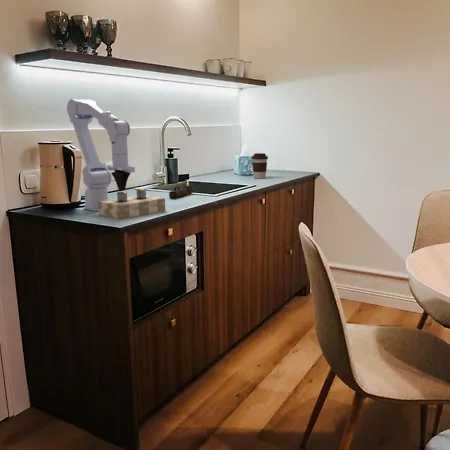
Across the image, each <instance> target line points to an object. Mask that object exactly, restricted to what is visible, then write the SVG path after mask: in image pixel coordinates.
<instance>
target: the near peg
mask: <svg viewBox="0 0 450 450" xmlns="http://www.w3.org/2000/svg"><path fill="white" fill-rule="evenodd" d="M116 194H117V198H116V199H117V200H118V202H121V203H122V202H127V197H128V192H127V191H126V190H125V191H116Z"/></svg>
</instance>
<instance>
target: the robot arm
mask: <svg viewBox="0 0 450 450" xmlns="http://www.w3.org/2000/svg"><path fill="white" fill-rule="evenodd" d="M66 112H67V114H68V118H69V120H70V123H71V124H73V125H72V126H73V128H74V132H75V133H76V134H75V135H76V137H77V138H76V139H77V141H78V143H79V147H80V150H81V152H82V156H83V158H84V161H85V166H84V168H83V169H82V170H81V172H82V180H83V183H84V185H85V186H86V189H85V191H84V203H85V206H84V207H83V209H84V210H90V211H92V212H99V205H98V201H103V200H109V194H108V193H109V191H108V188H109V187H110V185H111V182H112V179H114V181H115V183H116V187H117V190H118V192H120V191H126V188H127V184H128V183H127V182H128V179H129V177H130V175H131V173H136V170H135V166H131V165H129V153H128V152H129V151H128V150H129V149H128V136H129V135H130V132H131V126H130V124H129V122H128V121H127V120H120V119H119V117H116V116H115V115H114V114H112V112H111V111H110V110H109V111H107V110H106V111H104V110H102V109H101V108H100V107H99V106H98V105H97V102H96V101H94V100H93V99H74V98H70V99H69V100H68V101H67V105H66ZM94 118H95V119H96V120H97V121H98V124H99V125H100V126H101V127H102V128H104V129H105V130H106V132H107V135H108V137H109V138H108V139H109V141H110V143H111V161H112V164H107V165H106V164H105V163H102V162H101V161H100V159H99V155H98V152H97V150H96V146H95V144H94V141H93V138H92V135H91V132H90V129H89V126H88V125H89V124H91V123H92V121H93V119H94ZM110 171H113V172H110ZM112 177H113V178H112Z"/></svg>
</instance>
